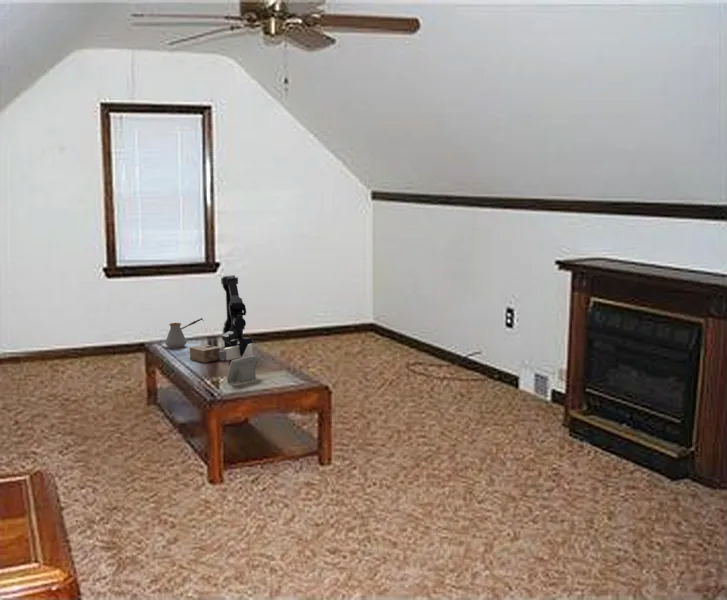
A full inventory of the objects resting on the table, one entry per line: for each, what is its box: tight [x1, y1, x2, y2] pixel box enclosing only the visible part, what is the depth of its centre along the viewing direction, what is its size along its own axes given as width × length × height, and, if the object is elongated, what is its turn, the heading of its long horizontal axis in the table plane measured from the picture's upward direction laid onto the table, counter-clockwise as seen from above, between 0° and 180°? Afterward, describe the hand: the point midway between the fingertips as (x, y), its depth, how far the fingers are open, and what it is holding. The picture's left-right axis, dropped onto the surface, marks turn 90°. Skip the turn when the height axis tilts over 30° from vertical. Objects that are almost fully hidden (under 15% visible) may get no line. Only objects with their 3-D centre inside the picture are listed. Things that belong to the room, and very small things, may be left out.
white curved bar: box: [219, 343, 253, 361], centre depth 408 cm, size 20×3×6 cm, turn 137°
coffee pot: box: [164, 317, 204, 349], centre depth 436 cm, size 21×12×15 cm, turn 113°
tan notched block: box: [189, 344, 221, 363], centre depth 405 cm, size 10×12×6 cm
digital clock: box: [226, 354, 258, 384], centre depth 364 cm, size 16×9×11 cm, turn 132°
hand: (237, 355), depth 410 cm, fingers open, 6 cm apart
